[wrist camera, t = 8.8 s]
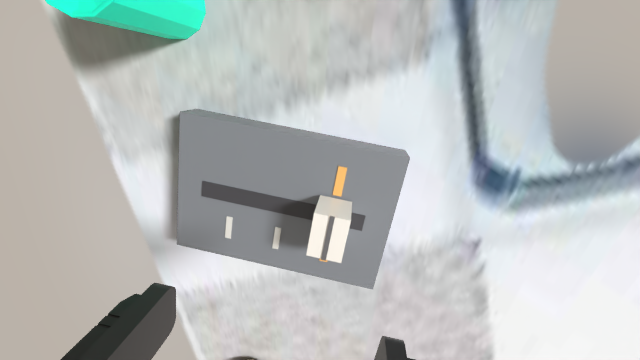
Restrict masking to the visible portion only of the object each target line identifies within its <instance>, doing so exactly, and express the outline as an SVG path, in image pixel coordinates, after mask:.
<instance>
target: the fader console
mask: <svg viewBox="0 0 640 360" xmlns="http://www.w3.org/2000/svg"><path fill="white" fill-rule="evenodd" d="M409 160H410V157H409V156H408V154H407V152H406V151H405V150H401V149H396V148H391V147H386V146H381V145H376V144H371V143H365V142H360V141H355V140H350V139H345V138H340V137H335V136H330V135H325V134H320V133H315V132H310V131H305V130H300V129H295V128H290V127H285V126H280V125H275V124H270V123H265V122H260V121H255V120H250V119H245V118H240V117H235V116H230V115H225V114H220V113H215V112H210V111H205V110H200V109H193V110H187V111H181V112H180V123H179V167H178V212H177V245H182V246H186V247H190V248H195V249H199V250H203V251H208V252H212V253H216V254H221V255H225V256H230V257H234V258H238V259H243V260H247V261H251V262H256V263H260V264H264V265H269V266H273V267H277V268H282V269H286V270H291V271H295V272H299V273H304V274H308V275H312V276H317V277H321V278H325V279H330V280H334V281H338V282H343V283H347V284H352V285H356V286H360V287H365V288H369V289H373V287H374V283H375V280H376V276H377V273H378V269H379V266H380V262H381V259H382V255H383V251H384V248H385V244H386V241H387V237H388V234H389V230H390V227H391V223H392V220H393V216H394V213H395V209H396V206H397V202H398V198H399V195H400V191H401V188H402V184H403V181H404V177H405V174H406V170H407V167H408V163H409ZM320 195H322V196H327V197H332V198H336V199H341V200H346V201H350V202H352V213H351V223H350V227H349V232H348V236H347V240H346V244H345V249H344V253H343V257H342V262H341V263H338V262H334V261H329V260H326V261H324V260H321V259H320V258H316V257H311V256H307V255H306V254H307V248H308V243H309V237H310V232H311V227H312V221H313V216H314V212H315V209H316V206H317V203H318V200H319V197H320Z"/></svg>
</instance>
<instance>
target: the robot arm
mask: <svg viewBox="0 0 640 360" xmlns="http://www.w3.org/2000/svg"><path fill="white" fill-rule="evenodd" d="M175 319H176V289H175V287H172V286H167V285H163V284H159V283H154V284H152V285H151V286H150V287H149V288H148V289H147V290H146V291H145V292H144V293H143V294H142V295H139V294H134V295H133V296H130V297H129V298H127V299H125V300H123V301H121V302H120V303H119V304H118V305H117V306H116V307H115V308H114V309H113V310H112V311H110V312H109V314H108V316H105V317H104V318H103V319H102V320H101V321H100V322H99V323H98V325H97V326H95V327H94V328H93V329H92V330H91V331H90V332H89V333H88V334H87V335H86V336H85V337H83V338H82V340H80V341H79V342H78V343H77V344H76V345H75V346H74V347H73V348H72V349H71V350H70V351H69V352H68V353H67V354H66V355H65V356H64V357H63V358H62V359H61V360H151V359H152V358H153V356H154V355H155V354H156V352H157V351H158V349H159V348H160V347H161V345H162V344H163V342H164V341H165V340H166V338H167V337H168V336H169V334H170V332H171V331H172V328H173V326H174V323H175ZM374 360H414V359H410V358H407V355H406V349H405V344H404V341H403V340H399V339H394V338H390V337H386V336H382V338H381V341H380V344H379V347H378V350H377V353H376V356H375V359H374Z"/></svg>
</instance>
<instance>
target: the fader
mask: <svg viewBox="0 0 640 360" xmlns="http://www.w3.org/2000/svg"><path fill="white" fill-rule="evenodd" d="M351 213H352V202H350V201H346V200H341V199H336V198H332V197H327V196H322V195H320V197H319V200H318V203H317V206H316V209H315V212H314V216H313V221H312V227H311V232H310V237H309V243H308V248H307V254H306V255H307V256H311V257H316V258H320V259H321V260H324V261H326V260H329V261H334V262H338V263H341V262H342V257H343V253H344V249H345V244H346V240H347V236H348V232H349V227H350V223H351Z"/></svg>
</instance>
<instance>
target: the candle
mask: <svg viewBox="0 0 640 360" xmlns="http://www.w3.org/2000/svg"><path fill="white" fill-rule="evenodd" d="M45 1H46V2H47V3H48V4H49V5H51V6H53V7H55V8H57V9H58V10H60V11H62V12H64V13H65V14H67V15H69V16H71V17H73V18H78V19H82V20H87V21H91V22H96V23H100V24H105V25H109V26H114V27H118V28H123V29H127V30H132V31H136V32H141V33H145V34H150V35H154V36H159V37H164V38H168V39H188V38H189V37H190V36H192V35H193V34H194V33H196V32H197V31H198V30H199V29H200V27H201V24H202V22H203V19H204V16H205V14H206V11H205V1H204V0H45Z"/></svg>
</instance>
